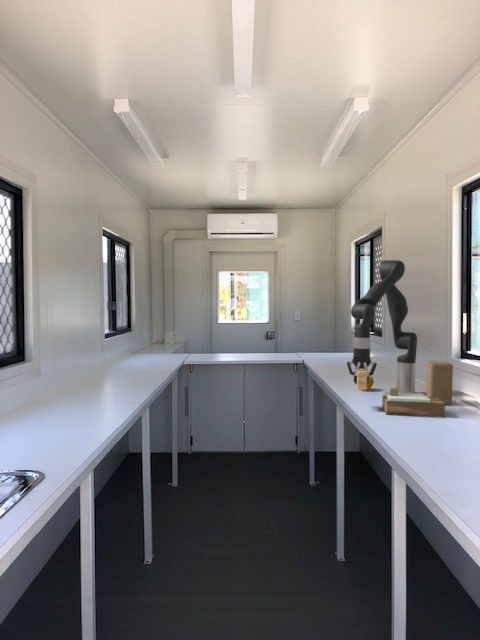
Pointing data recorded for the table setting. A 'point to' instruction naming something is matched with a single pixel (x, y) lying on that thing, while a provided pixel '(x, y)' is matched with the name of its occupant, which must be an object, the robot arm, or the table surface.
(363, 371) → the key
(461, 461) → the table surface
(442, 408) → the wooden box
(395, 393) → the lid
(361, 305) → the robot arm
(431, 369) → the wooden block
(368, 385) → the apple
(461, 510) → the table surface
